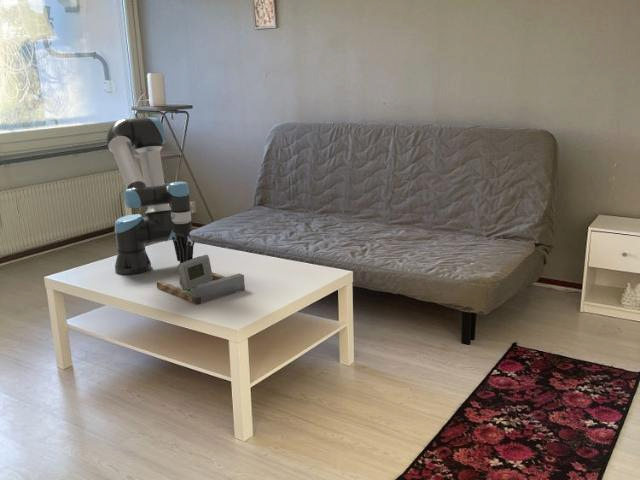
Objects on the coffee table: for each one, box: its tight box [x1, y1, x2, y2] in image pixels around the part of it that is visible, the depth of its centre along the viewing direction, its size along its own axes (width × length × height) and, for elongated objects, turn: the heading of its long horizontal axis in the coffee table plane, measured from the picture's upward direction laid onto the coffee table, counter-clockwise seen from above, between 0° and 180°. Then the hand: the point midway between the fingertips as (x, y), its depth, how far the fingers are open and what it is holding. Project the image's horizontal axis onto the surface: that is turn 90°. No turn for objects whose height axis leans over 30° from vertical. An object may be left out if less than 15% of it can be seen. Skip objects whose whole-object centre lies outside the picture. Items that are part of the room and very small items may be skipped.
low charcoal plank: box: [190, 272, 246, 305], centre depth 238 cm, size 3×22×6 cm, turn 134°
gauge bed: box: [156, 271, 246, 305], centre depth 247 cm, size 28×22×3 cm
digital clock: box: [177, 254, 213, 291], centre depth 249 cm, size 16×9×11 cm, turn 135°
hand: (186, 279), depth 254 cm, fingers closed
